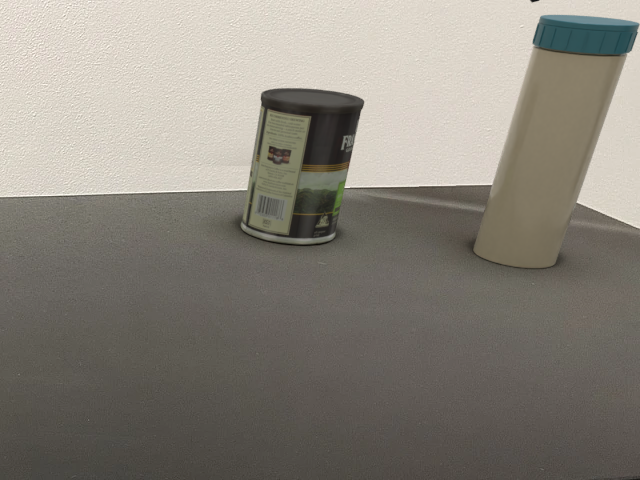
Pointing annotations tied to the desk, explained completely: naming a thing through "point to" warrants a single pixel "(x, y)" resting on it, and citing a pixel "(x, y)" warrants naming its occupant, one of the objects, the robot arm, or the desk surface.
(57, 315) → the desk surface
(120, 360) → the desk surface
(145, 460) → the desk surface
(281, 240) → the coffee can
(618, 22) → the lid
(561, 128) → the jar
